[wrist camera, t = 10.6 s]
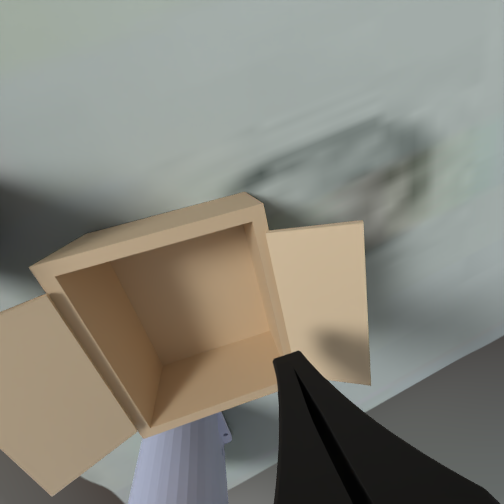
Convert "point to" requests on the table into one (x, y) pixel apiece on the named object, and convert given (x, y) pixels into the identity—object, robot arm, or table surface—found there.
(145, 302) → the carton
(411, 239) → the table surface
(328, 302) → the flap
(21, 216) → the table surface
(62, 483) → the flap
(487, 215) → the table surface
